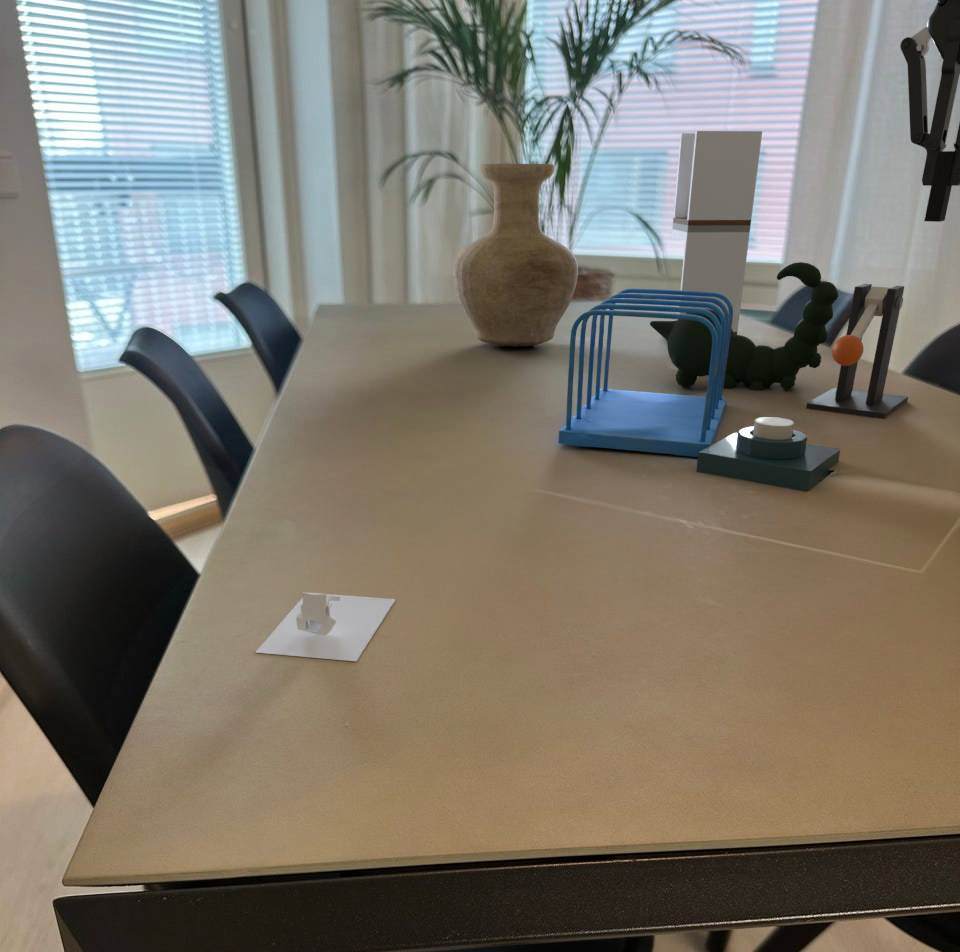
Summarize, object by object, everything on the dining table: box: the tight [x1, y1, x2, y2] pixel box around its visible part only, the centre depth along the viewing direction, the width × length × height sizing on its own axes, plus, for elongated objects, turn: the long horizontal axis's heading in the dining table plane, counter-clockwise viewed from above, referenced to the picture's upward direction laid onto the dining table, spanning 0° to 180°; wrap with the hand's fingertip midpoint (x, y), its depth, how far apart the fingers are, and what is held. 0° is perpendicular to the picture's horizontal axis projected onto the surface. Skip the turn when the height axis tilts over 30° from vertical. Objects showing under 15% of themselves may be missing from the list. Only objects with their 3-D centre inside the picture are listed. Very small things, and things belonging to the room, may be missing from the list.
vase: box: [452, 163, 579, 347], centre depth 163 cm, size 22×22×30 cm
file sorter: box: [557, 287, 733, 458], centre depth 111 cm, size 25×17×15 cm
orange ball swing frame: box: [805, 283, 909, 420], centre depth 119 cm, size 12×10×16 cm
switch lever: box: [831, 286, 890, 366], centre depth 114 cm, size 14×4×4 cm, turn 144°
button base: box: [696, 425, 841, 493], centre depth 97 cm, size 12×10×4 cm
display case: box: [671, 130, 763, 335], centre depth 169 cm, size 11×11×35 cm
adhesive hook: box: [295, 592, 341, 636], centre depth 63 cm, size 3×3×3 cm
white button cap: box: [753, 416, 795, 440], centre depth 96 cm, size 4×4×2 cm
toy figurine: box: [649, 261, 839, 392], centre depth 131 cm, size 9×19×25 cm
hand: (934, 220), depth 97 cm, fingers closed
